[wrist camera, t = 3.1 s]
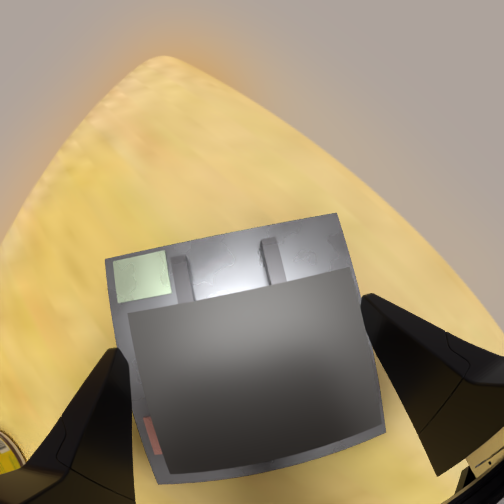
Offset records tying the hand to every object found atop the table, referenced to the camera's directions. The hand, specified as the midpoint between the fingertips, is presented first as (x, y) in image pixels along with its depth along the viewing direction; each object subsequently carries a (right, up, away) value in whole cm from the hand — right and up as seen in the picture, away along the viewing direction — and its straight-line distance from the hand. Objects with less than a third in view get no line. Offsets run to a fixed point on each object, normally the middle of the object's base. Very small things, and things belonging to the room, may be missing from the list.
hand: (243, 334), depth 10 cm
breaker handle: (0, -2, +5) cm, 5 cm away
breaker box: (0, -2, +7) cm, 7 cm away
